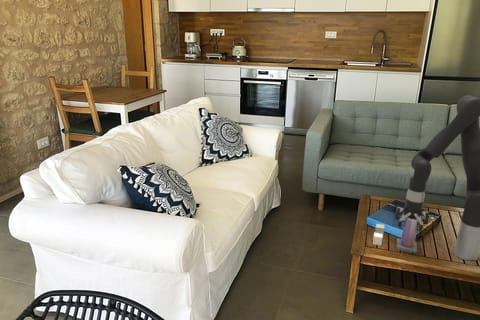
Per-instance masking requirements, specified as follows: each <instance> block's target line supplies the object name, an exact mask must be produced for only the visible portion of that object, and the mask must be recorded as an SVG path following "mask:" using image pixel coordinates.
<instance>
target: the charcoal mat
mask: <svg viewBox="0 0 480 320" xmlns="http://www.w3.org/2000/svg"><path fill="white" fill-rule="evenodd" d="M417 244H418V243H417V241H415V242H414V246H413V247H405V246H403V245H402V244H401V238H399V237H398V238H396V250H399V251H404V252H409V253H413V254H417V253H418V245H417Z"/></svg>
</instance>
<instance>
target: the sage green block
mask: <svg viewBox="0 0 480 320" xmlns="http://www.w3.org/2000/svg"><path fill="white" fill-rule="evenodd" d="M374 230H375V231H374V232H375V233H380V234H383V235H384V232H385V224H381V223H376V224H375V229H374Z"/></svg>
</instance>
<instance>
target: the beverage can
mask: <svg viewBox="0 0 480 320" xmlns="http://www.w3.org/2000/svg"><path fill="white" fill-rule="evenodd" d="M403 221H404V222H403V228H402V233H401V238H400V239H401V244H402V245H403V246H405V247H413V246H414V242H416V236H417V232H418V228H419V221H418V219H415V218H413V219H412V218H409V217H407V218H405V219H404V220H403Z"/></svg>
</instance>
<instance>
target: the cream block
mask: <svg viewBox="0 0 480 320" xmlns="http://www.w3.org/2000/svg"><path fill="white" fill-rule="evenodd" d="M383 238H384V233H383V234H380V233H375V231H374V232H373V237H372V245H374V246H375V245H376V246H382V242H383Z"/></svg>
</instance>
